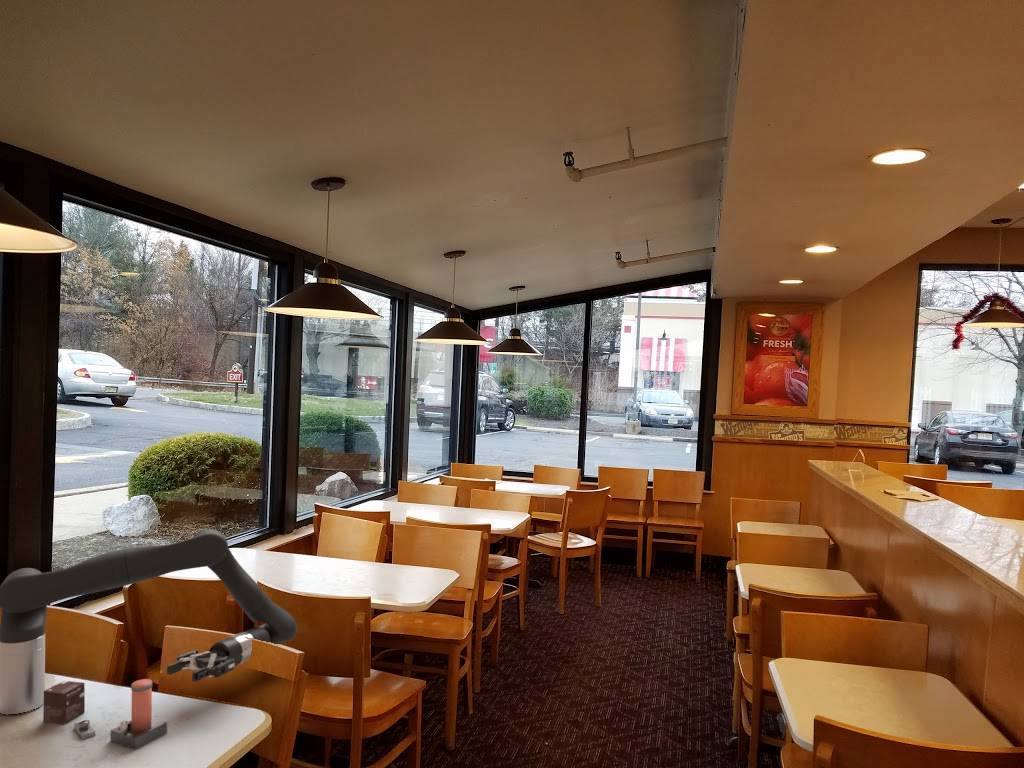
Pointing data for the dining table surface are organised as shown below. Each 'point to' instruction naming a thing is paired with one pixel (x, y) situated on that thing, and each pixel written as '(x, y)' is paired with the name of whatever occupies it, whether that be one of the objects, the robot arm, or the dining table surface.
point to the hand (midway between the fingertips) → (180, 674)
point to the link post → (141, 706)
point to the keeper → (132, 741)
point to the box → (64, 702)
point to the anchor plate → (84, 729)
